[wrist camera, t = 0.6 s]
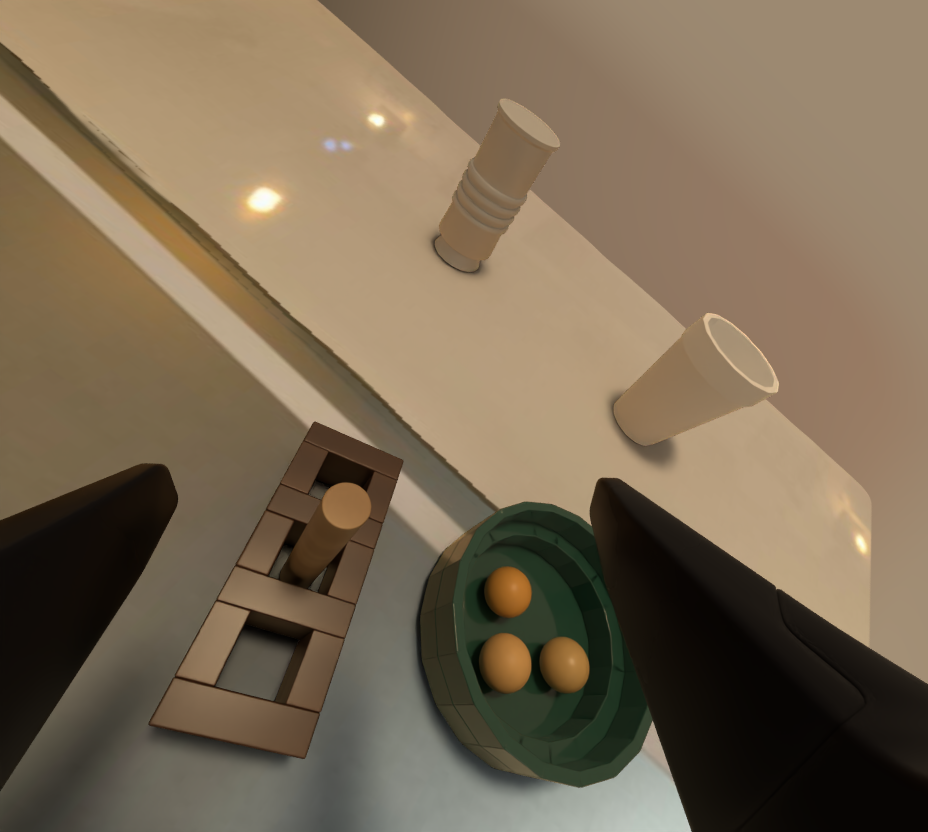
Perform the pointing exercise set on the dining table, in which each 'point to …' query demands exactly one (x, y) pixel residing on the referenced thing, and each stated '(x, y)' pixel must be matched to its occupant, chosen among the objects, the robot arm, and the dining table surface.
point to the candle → (494, 185)
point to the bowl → (533, 650)
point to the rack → (283, 607)
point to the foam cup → (696, 382)
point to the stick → (327, 533)
